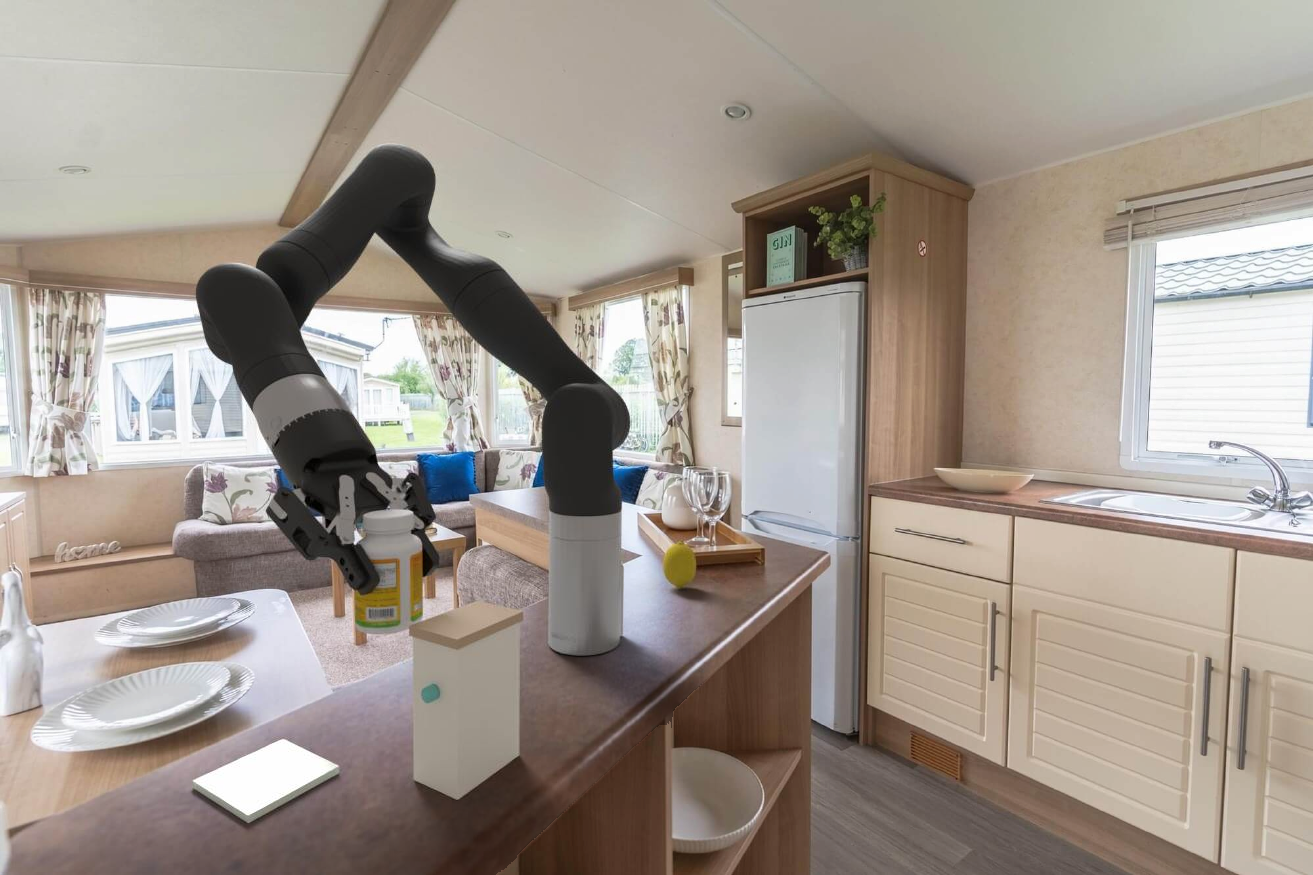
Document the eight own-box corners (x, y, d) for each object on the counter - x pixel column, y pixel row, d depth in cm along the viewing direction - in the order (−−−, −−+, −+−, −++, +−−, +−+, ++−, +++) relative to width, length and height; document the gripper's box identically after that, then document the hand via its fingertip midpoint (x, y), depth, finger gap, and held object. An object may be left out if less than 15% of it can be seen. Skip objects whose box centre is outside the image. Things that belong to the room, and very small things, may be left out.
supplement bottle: (403, 609, 57) (402, 505, 56) (435, 623, 53) (434, 513, 53) (343, 624, 52) (342, 513, 52) (373, 641, 49) (371, 522, 48)
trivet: (283, 745, 54) (283, 738, 54) (339, 773, 50) (338, 765, 50) (192, 787, 48) (192, 780, 48) (248, 823, 44) (248, 815, 44)
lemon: (696, 594, 99) (697, 545, 99) (662, 593, 100) (663, 545, 99) (694, 584, 105) (695, 538, 105) (662, 583, 105) (663, 537, 105)
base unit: (478, 737, 56) (478, 600, 55) (523, 754, 53) (524, 611, 53) (403, 784, 49) (402, 628, 48) (451, 806, 46) (451, 642, 46)
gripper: (366, 456, 64) (447, 584, 59) (214, 467, 52) (300, 631, 47) (399, 406, 62) (487, 536, 56) (246, 405, 49) (342, 573, 44)
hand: (402, 578), depth 52 cm, fingers closed on supplement bottle, 5 cm apart
